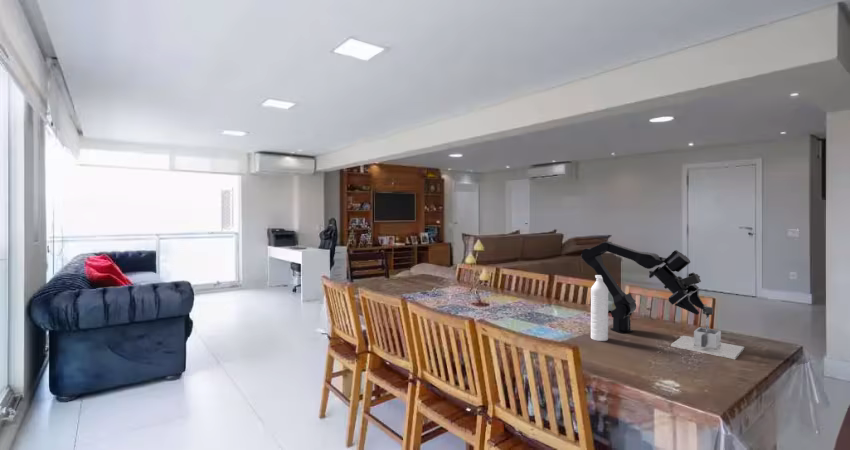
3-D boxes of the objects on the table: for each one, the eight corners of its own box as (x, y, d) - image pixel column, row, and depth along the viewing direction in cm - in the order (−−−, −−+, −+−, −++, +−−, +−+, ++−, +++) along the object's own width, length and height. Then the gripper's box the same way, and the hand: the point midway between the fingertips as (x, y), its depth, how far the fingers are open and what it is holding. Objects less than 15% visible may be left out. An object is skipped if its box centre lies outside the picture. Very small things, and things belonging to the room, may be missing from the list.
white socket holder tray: (671, 346, 162) (671, 329, 162) (683, 337, 172) (683, 322, 172) (735, 359, 148) (735, 341, 147) (744, 348, 158) (744, 332, 158)
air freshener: (604, 307, 225) (604, 288, 224) (619, 309, 219) (619, 290, 218) (593, 310, 218) (593, 291, 217) (609, 313, 212) (609, 293, 211)
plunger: (697, 335, 160) (697, 307, 159) (701, 332, 164) (701, 305, 163) (714, 338, 156) (714, 309, 155) (717, 335, 160) (718, 307, 159)
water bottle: (609, 341, 168) (609, 278, 167) (591, 340, 170) (591, 278, 169) (606, 335, 176) (606, 275, 175) (589, 334, 178) (589, 274, 177)
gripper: (678, 269, 158) (713, 303, 150) (692, 263, 170) (725, 294, 163) (655, 287, 164) (687, 321, 156) (671, 281, 176) (701, 312, 169)
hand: (701, 311), depth 161 cm, fingers open, 9 cm apart
